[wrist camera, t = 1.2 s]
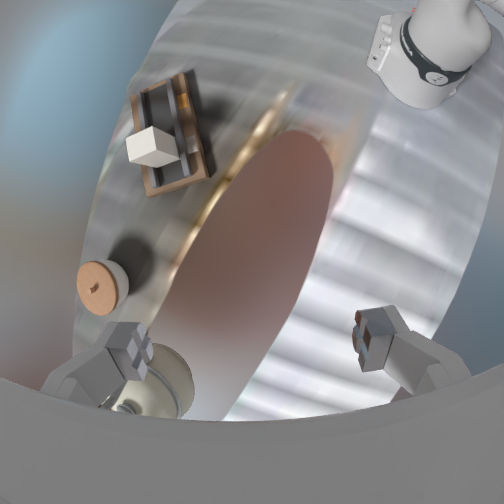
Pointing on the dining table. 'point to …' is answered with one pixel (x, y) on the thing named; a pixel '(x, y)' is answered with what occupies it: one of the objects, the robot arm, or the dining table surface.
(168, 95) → the switch housing
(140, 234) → the dining table surface
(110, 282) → the lidded jar
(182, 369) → the kettle
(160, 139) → the switch knob
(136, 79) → the dining table surface
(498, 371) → the robot arm
